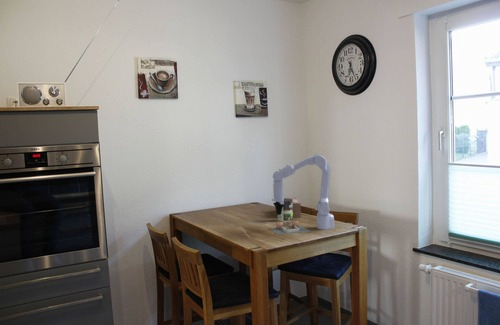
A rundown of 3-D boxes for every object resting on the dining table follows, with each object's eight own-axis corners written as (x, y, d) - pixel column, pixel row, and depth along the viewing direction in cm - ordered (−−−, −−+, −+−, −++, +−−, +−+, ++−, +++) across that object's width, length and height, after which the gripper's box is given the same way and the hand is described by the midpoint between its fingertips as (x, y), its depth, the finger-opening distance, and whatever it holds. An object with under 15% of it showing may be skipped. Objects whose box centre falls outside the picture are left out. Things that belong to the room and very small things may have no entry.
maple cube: (289, 227, 232) (289, 220, 232) (291, 228, 228) (291, 221, 228) (283, 227, 232) (283, 221, 231) (285, 229, 228) (285, 222, 227)
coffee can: (294, 219, 257) (294, 198, 256) (290, 223, 248) (290, 201, 247) (279, 219, 261) (279, 198, 260) (275, 222, 251) (274, 200, 250)
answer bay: (295, 228, 229) (295, 225, 228) (299, 231, 221) (299, 228, 221) (281, 229, 227) (281, 227, 227) (285, 232, 219) (285, 229, 219)
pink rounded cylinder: (297, 226, 233) (297, 220, 233) (299, 227, 230) (299, 222, 229) (291, 227, 233) (291, 221, 232) (293, 228, 229) (293, 222, 228)
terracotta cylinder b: (280, 227, 232) (280, 221, 231) (283, 229, 228) (284, 223, 228) (274, 228, 230) (274, 222, 230) (277, 229, 226) (277, 223, 226)
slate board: (301, 227, 236) (301, 225, 236) (311, 233, 220) (311, 231, 220) (269, 229, 231) (269, 228, 231) (277, 236, 216) (277, 234, 216)
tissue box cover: (300, 218, 263) (300, 203, 262) (279, 218, 263) (279, 204, 263) (296, 211, 289) (296, 197, 288) (277, 211, 289) (276, 198, 288)
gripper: (268, 190, 234) (269, 212, 235) (275, 193, 220) (275, 217, 221) (279, 189, 235) (280, 212, 236) (287, 192, 221) (287, 216, 222)
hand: (278, 214), depth 228 cm, fingers closed
